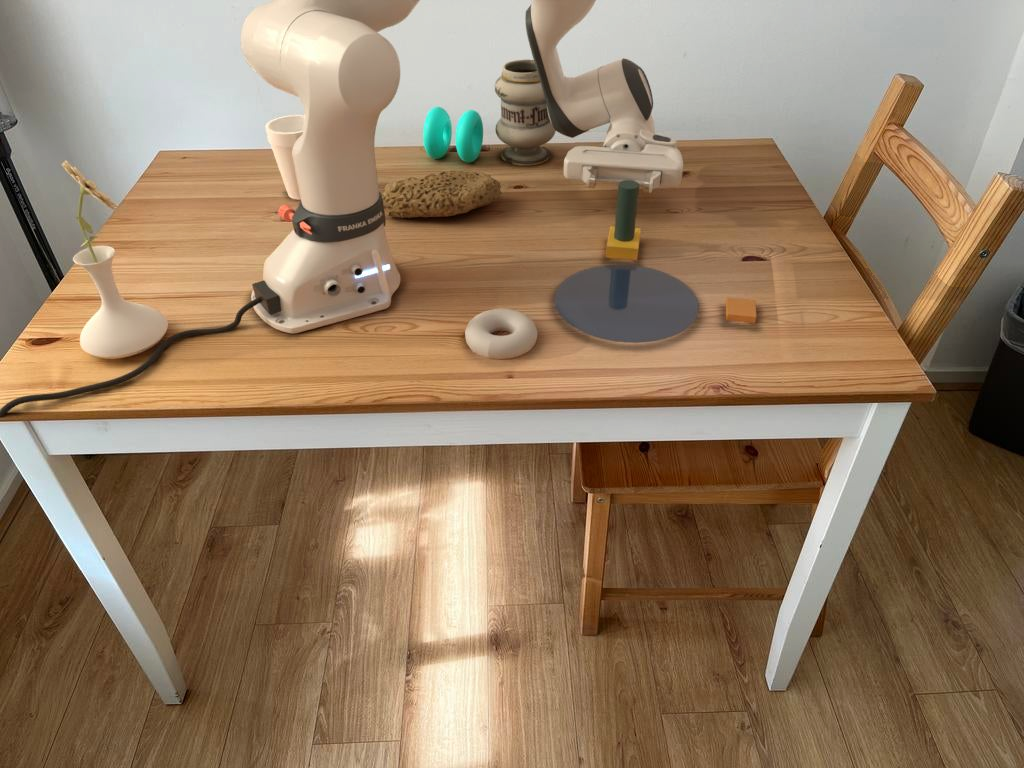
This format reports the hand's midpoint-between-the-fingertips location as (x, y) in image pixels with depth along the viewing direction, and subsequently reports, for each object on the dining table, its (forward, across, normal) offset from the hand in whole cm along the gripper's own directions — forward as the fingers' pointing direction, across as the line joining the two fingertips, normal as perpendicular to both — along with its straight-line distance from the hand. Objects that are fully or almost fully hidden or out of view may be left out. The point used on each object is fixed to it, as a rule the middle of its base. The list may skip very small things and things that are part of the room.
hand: (618, 186), depth 127 cm
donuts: (-25, -35, +8) cm, 44 cm away
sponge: (-2, -31, +8) cm, 32 cm away
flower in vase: (+45, -64, +8) cm, 78 cm away
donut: (+36, -12, +8) cm, 39 cm away
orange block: (+23, +20, +8) cm, 32 cm away
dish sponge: (+8, +2, +8) cm, 11 cm away
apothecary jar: (-29, -21, +8) cm, 37 cm away
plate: (+23, +4, +8) cm, 25 cm away
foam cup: (-4, -59, +8) cm, 60 cm away
